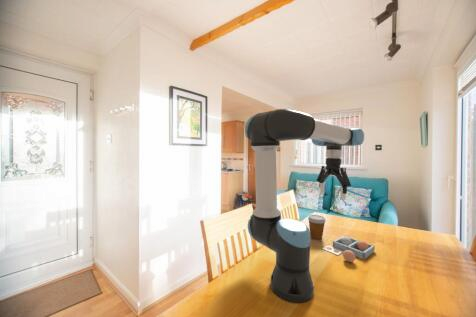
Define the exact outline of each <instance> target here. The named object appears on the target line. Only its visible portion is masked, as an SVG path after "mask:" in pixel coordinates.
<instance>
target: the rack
mask: <svg viewBox="0 0 476 317" xmlns="http://www.w3.org/2000/svg"><path fill="white" fill-rule="evenodd" d="M343 237H348V238H349V239H350V240H351V242H352V244H350V245H349V246H346V245H343V244H342V243H341V239H342V238H343ZM359 241H360V240H359V239H356V238H354V237H353V238H352V237H349V236H346V235H343V236H341V237H339V238H337V239H335V240H333V241H332V247H334V248H336V249H339V250H341V251H345V250H350V251H352V252H353V253H354V254H355V257H357V258H360V259H362V260H365V259H367V258H368V257H370V256H371V255H372V254H373V253H375V245H373V244H370V243H368V242H367V244H368V246H369V248H368V249H367V250H365V251H361V250H360V249H358V247H357V243H358V242H359Z"/></svg>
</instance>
